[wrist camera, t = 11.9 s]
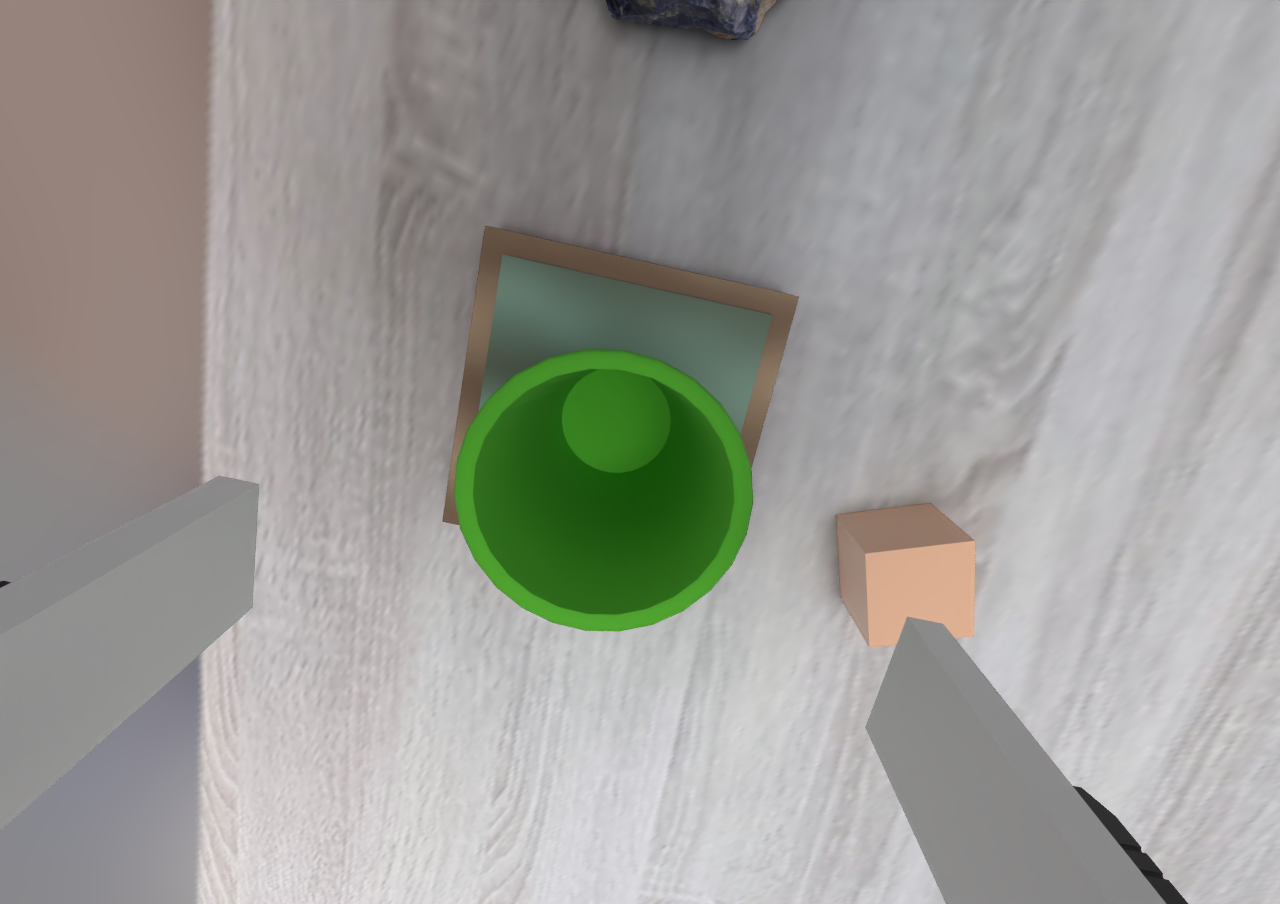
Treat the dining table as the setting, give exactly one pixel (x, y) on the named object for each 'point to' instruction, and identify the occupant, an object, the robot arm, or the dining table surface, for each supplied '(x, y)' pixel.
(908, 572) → the terracotta block
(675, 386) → the cup
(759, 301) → the tray
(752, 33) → the rock
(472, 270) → the dining table surface
